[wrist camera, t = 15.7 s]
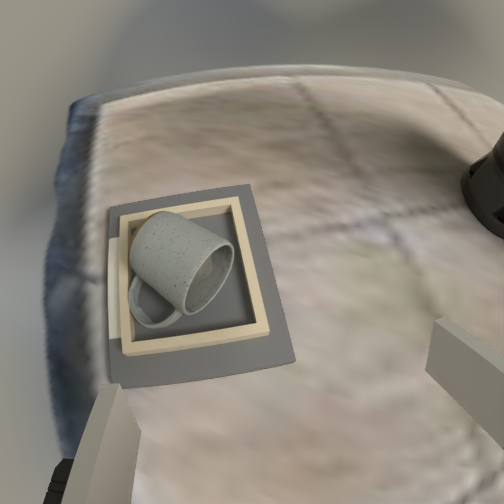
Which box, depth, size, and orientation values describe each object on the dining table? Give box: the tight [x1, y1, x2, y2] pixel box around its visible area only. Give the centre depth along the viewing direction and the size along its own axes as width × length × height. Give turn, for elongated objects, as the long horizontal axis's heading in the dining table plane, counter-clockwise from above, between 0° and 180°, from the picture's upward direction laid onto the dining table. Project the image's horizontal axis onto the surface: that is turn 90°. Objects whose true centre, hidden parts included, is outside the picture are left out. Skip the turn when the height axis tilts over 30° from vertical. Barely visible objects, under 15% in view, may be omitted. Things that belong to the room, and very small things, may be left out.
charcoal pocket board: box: [107, 184, 296, 389], centre depth 33 cm, size 18×22×3 cm
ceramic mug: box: [128, 211, 234, 329], centre depth 29 cm, size 11×8×8 cm
